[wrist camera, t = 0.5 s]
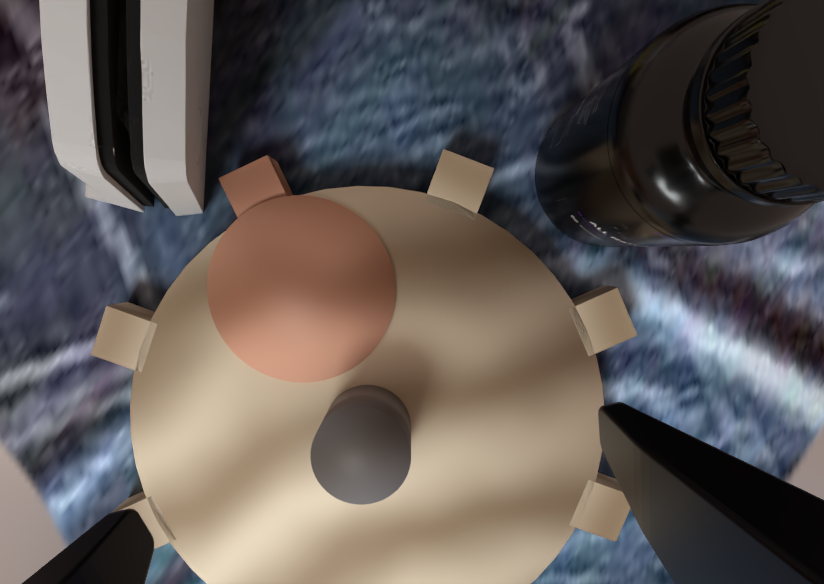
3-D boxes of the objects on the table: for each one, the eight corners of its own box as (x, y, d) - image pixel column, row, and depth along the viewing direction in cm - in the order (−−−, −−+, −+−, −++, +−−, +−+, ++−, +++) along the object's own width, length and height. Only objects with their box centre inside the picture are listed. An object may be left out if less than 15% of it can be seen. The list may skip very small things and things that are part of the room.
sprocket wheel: (708, 536, 23) (781, 606, 18) (252, 729, 24) (215, 841, 19) (506, 54, 21) (533, -1, 16) (13, 286, 21) (-92, 295, 17)
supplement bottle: (554, 266, 22) (734, 285, 10) (513, 128, 21) (652, -37, 9) (691, 222, 21) (1048, 185, 9) (654, 82, 21) (986, -149, 9)
